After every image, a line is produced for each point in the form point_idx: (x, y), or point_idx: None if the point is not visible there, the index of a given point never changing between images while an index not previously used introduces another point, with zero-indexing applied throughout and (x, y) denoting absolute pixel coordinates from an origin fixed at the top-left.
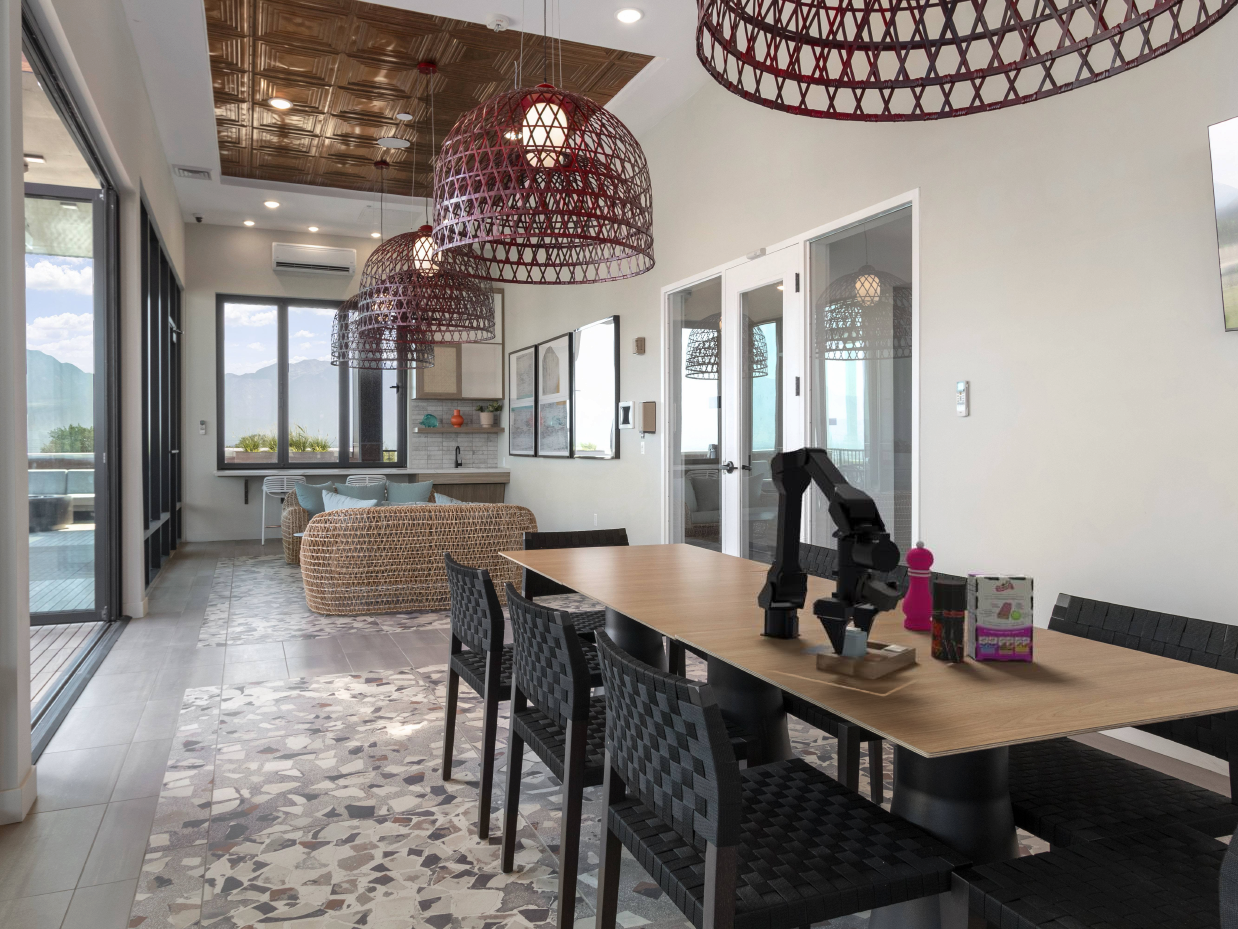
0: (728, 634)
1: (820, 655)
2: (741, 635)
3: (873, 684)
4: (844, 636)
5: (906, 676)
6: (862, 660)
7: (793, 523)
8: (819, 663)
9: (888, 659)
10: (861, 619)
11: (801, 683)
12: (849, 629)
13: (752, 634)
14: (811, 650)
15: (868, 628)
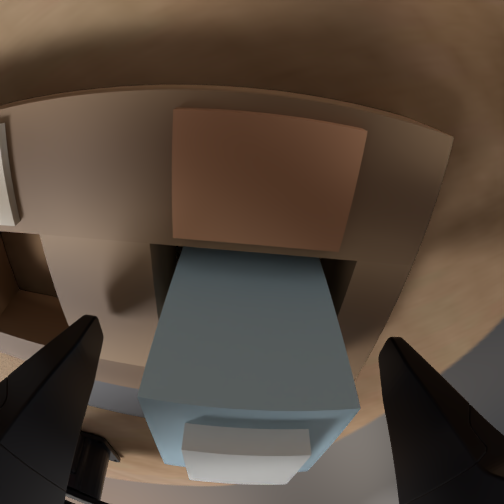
0: (155, 476)
1: None
2: (141, 469)
3: (443, 107)
4: (452, 414)
5: (168, 6)
6: (394, 223)
7: None
8: None
9: (203, 89)
10: (39, 468)
11: (495, 309)
12: (289, 471)
13: (118, 462)
14: (130, 407)
15: (35, 395)
